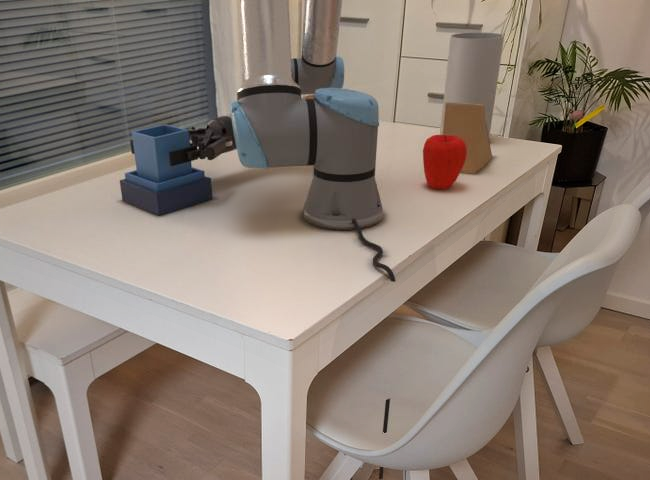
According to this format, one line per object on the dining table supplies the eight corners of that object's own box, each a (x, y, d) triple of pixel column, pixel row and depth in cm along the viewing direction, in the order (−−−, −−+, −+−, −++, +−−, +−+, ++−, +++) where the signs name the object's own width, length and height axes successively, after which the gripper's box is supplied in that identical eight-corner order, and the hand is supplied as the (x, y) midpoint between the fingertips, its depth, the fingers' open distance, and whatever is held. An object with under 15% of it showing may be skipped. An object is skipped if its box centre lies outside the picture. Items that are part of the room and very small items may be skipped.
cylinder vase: (491, 147, 171) (508, 38, 157) (440, 146, 173) (453, 39, 159) (485, 134, 181) (500, 32, 168) (437, 134, 183) (448, 32, 170)
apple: (467, 183, 147) (474, 133, 141) (453, 195, 141) (460, 142, 135) (428, 178, 151) (433, 128, 145) (413, 189, 145) (417, 137, 139)
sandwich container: (493, 157, 163) (504, 91, 155) (475, 174, 152) (484, 104, 144) (458, 153, 167) (466, 89, 159) (438, 169, 156) (445, 101, 148)
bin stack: (174, 185, 152) (172, 159, 149) (212, 198, 144) (210, 170, 141) (122, 200, 145) (118, 173, 141) (159, 215, 136) (155, 186, 133)
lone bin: (171, 184, 148) (165, 124, 142) (193, 192, 143) (188, 129, 136) (139, 194, 144) (131, 131, 137) (161, 202, 139) (154, 138, 132)
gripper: (268, 160, 143) (189, 183, 131) (195, 141, 159) (119, 160, 147) (268, 123, 139) (186, 144, 127) (193, 107, 155) (114, 124, 143)
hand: (150, 152), depth 137 cm, fingers open, 13 cm apart
